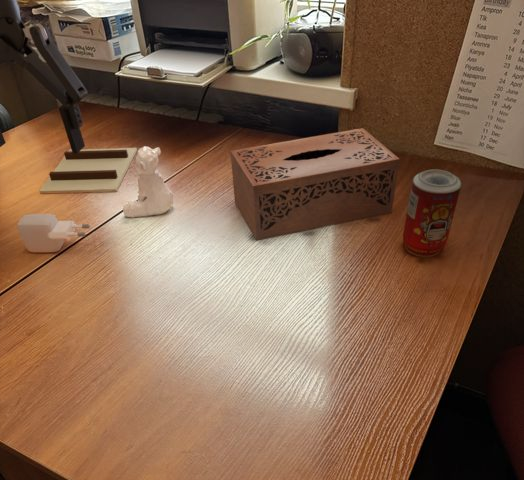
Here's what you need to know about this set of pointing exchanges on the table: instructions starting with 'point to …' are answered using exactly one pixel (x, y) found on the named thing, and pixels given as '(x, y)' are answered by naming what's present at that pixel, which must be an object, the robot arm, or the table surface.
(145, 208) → the sitting furry creature
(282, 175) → the tissue box cover
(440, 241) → the red snack canister
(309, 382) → the table surface
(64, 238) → the power adapter
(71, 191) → the slot mat
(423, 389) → the table surface
